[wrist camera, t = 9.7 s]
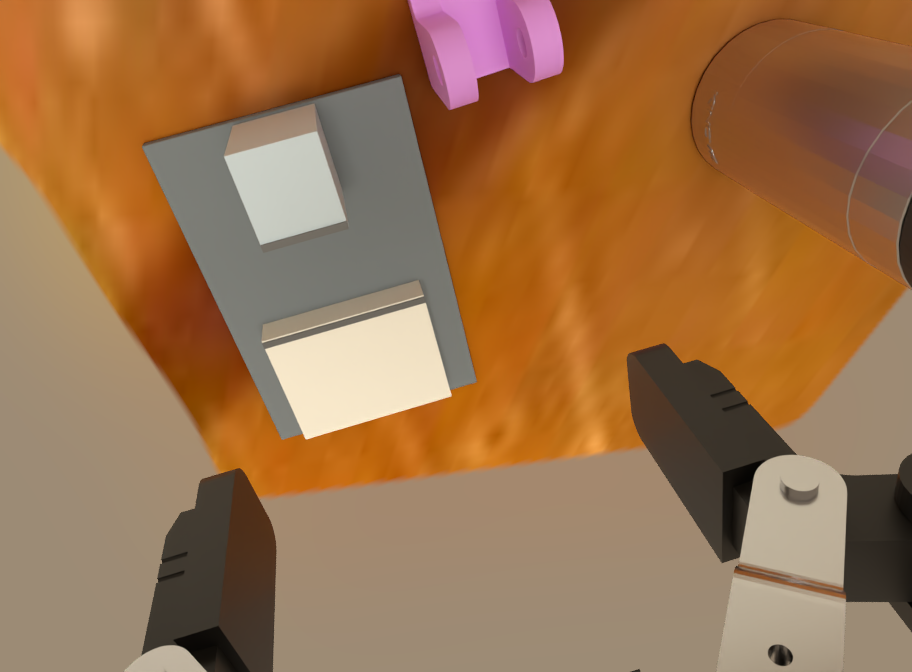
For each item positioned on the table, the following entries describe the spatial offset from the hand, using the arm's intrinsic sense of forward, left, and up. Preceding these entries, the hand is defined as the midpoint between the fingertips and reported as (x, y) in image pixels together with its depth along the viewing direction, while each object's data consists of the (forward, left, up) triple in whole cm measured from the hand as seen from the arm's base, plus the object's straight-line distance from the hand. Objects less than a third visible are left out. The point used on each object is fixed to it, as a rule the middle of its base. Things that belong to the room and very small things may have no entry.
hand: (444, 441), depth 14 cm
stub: (+4, +2, -28) cm, 28 cm away
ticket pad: (+4, +9, -28) cm, 30 cm away
